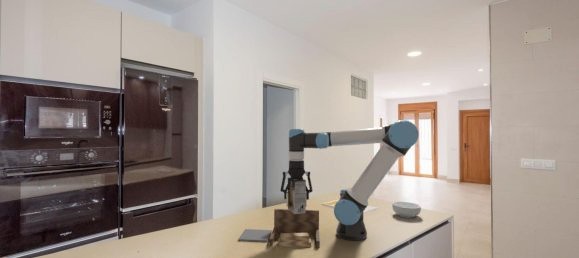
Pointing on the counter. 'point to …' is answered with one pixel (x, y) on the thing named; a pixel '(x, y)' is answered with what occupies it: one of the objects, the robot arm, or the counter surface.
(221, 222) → the counter surface
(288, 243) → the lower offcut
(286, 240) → the upper offcut
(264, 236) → the slate mat
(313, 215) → the walnut rack
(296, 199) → the coffee box
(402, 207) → the cereal bowl
